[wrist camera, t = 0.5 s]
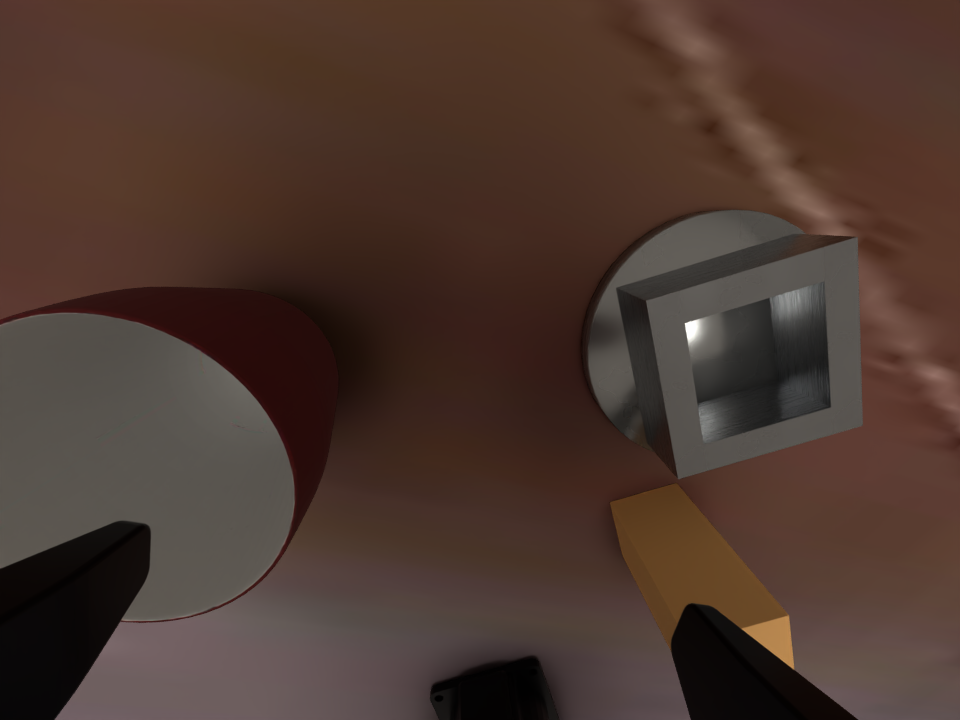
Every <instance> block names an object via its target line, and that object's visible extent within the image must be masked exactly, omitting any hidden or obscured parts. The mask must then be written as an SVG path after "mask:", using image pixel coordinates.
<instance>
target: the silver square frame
mask: <svg viewBox="0 0 960 720" xmlns="http://www.w3.org/2000/svg"><path fill="white" fill-rule="evenodd" d="M581 347H582V363H583V369H584V374H585V377H586V380H587V383H588V386H589V389H590V391H591V393H592V395H593V397H594V399H595V400H596V402H597V403H598V405H599V406H600V408H601V409H602V411H603V412H604V413H605V414H606V416H607V417H608V418H609V420H610V421H611V422H612V423H613V424H614V425H615V426H616V427H617V429H618V430H619V431H620V432H621V433H623V434H624V435H625V436H626V437H628V438H629V439H630V440H631V441H633V442H635V443H637V444H638V445H640V446H642V447H643V448H646V449H648V450H651V451H653V452H655V453H656V454H657V455H658V456H659V458H660V459H661V460H662V461H663V462H664V463H665V464H666V466H667V467H668V468H669V469H670V470H671V471H672V473H673V474H674V475H675V476H676V477H677V478H678V479H681V478H684V477H687V476H691V475H694V474H698V473H701V472H705V471H708V470H712V469H715V468H718V467H722V466H725V465H729V464H732V463H736V462H739V461H743V460H746V459H749V458H753V457H756V456H760V455H763V454H767V453H770V452H774V451H777V450H780V449H784V448H787V447H791V446H794V445H798V444H801V443H805V442H808V441H811V440H815V439H818V438H822V437H825V436H829V435H832V434H836V433H839V432H842V431H846V430H849V429H853V428H856V427H860V426H863V420H862V384H861V348H860V312H859V276H858V240H857V237H849V236H830V235H811V234H805V233H804V232H803V231H802V230H800V229H799V228H798V227H796V226H794V225H793V224H791V223H789V222H787V221H785V220H783V219H781V218H778V217H775V216H772V215H770V214H766V213H761V212H755V211H746V210H715V211H705V212H698V213H693V214H689V215H685V216H682V217H679V218H676V219H674V220H671V221H669V222H666V223H664V224H662V225H660V226H659V227H657V228H655V229H653V230H651V231H650V232H648V233H647V234H645V235H644V236H642V237H641V238H640V239H638V240H637V241H635V242H634V243H633V244H632V245H631V246H630V247H629V248H628V249H626V250H625V251H624V252H623V253H622V254H621V255H620V256H619V258H618V259H617V260H616V261H615V262H614V263H613V264H612V266H611V267H610V268H609V270H608V271H607V273H606V274H605V275H604V277H603V278H602V280H601V281H600V283H599V285H598V287H597V289H596V291H595V293H594V295H593V297H592V300H591V302H590V305H589V307H588V310H587V313H586V317H585V322H584V326H583V333H582V342H581Z"/></svg>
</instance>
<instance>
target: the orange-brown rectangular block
mask: <svg viewBox="0 0 960 720" xmlns="http://www.w3.org/2000/svg"><path fill="white" fill-rule="evenodd" d="M610 506H611V510H612V514H613V519H614V523H615V527H616V531H617V535H618V539H619V543H620V548H621V552H622V556H623V558H624V560H625V562H626V564H627V566H628V568H629V570H630V572H631V574H632V575H633V577H634V579H635V581H636V583H637V585H638V587H639V589H640V591H641V593H642V595H643V597H644V599H645V601H646V603H647V605H648V607H649V609H650V611H651V613H652V615H653V617H654V619H655V621H656V623H657V625H658V627H659V629H660V631H661V633H662V635H663V637H664V639H665V640H666V642H667V644H668V646H669V648H670V650H671V639H672V635H673V633H674V631H675V628H676V626H677V624H678V621H679V619H680V617H681V614H682V612H683V609H684V608H685V606H686V605H688V604H689V603H696V604H703V605H709V606H712V607H714V608H715V609H717V610H718V611H719V612H720V613H722V614H723V615H724V616H726V617H727V618H728V619H729V620H731V621H732V622H733V623H735V624H736V625H737V626H738V627H740V628H741V629H742V630H744V631H745V632H746V633H747V634H749V635H750V636H751V637H753V638H754V639H755V640H756V641H758V642H759V643H760V644H762V645H763V646H764V647H765V648H767V649H768V650H769V651H771V652H772V653H773V654H774V655H776V656H777V657H778V658H780V659H781V660H782V661H783V662H785V663H786V664H787V665H789V666H790V667H791V668H792V669H794V662H793V652H792V642H791V632H790V623H789V615H788V614H787V613H786V612H785V610H784V609H783V608H782V607H781V606H780V604H779V603H778V602H777V601H776V600H775V599H774V597H773V596H772V595H771V594H770V593H769V591H768V590H767V589H766V588H765V587H764V586H763V584H762V583H761V582H760V581H759V580H758V579H757V577H756V576H755V575H754V574H753V573H752V571H751V570H750V569H749V568H748V567H747V566H746V564H745V563H744V562H743V561H742V560H741V558H740V557H739V556H738V555H737V554H736V553H735V551H734V550H733V549H732V548H731V547H730V546H729V544H728V543H727V542H726V541H725V540H724V538H723V537H722V536H721V535H720V534H719V533H718V531H717V530H716V529H715V528H714V527H713V525H712V524H711V523H710V522H709V521H708V520H707V518H706V517H705V516H704V515H703V514H702V512H701V511H700V510H699V509H698V508H697V507H696V505H695V504H694V503H693V502H692V501H691V500H690V498H689V497H688V496H687V495H686V494H685V492H684V491H683V490H682V489H681V488H680V487H679V485H678V484H677V483H674V484H671V485H667V486H664V487H660V488H657V489H654V490H650V491H647V492H643V493H640V494H636V495H633V496H629V497H626V498H623V499H619V500H616V501H612V502H610Z"/></svg>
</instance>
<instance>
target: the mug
mask: <svg viewBox="0 0 960 720" xmlns="http://www.w3.org/2000/svg"><path fill="white" fill-rule="evenodd" d="M338 388H339V377H338V369H337V363H336V359H335V356H334V353H333V351H332V348H331V346H330V344H329V342H328V340H327V338H326V337H325V335H324V334H323V332H322V331H321V330H320V328H319V327H318V326H317V325H316V324H315V323H314V322H313V321H312V320H311V319H310V318H309V317H308V316H307V315H306V314H305V313H303V312H302V311H301V310H299V309H298V308H297V307H295V306H293V305H292V304H290V303H288V302H286V301H284V300H282V299H280V298H277V297H274V296H272V295H268V294H265V293H262V292H257V291H252V290H243V289H224V288H193V287H143V288H132V289H123V290H116V291H110V292H105V293H99V294H94V295H90V296H86V297H81V298H77V299H73V300H68V301H64V302H60V303H56V304H53V305H49V306H45V307H41V308H38V309H34V310H30V311H26V312H23V313H19V314H16V315H13V316H9V317H6V318H4V319H1V320H0V568H3V567H5V566H8V565H10V564H13V563H15V562H17V561H20V560H22V559H25V558H27V557H30V556H32V555H35V554H37V553H40V552H42V551H44V550H47V549H49V548H52V547H54V546H57V545H59V544H62V543H64V542H67V541H69V540H71V539H74V538H76V537H79V536H81V535H84V534H86V533H89V532H91V531H94V530H96V529H98V528H101V527H103V526H106V525H108V524H111V523H113V522H116V521H120V520H126V521H133V522H140V523H145V524H147V525H149V527H150V529H151V551H150V569H149V573H148V576H147V579H146V581H145V583H144V585H143V586H142V588H141V589H140V591H139V593H138V594H137V596H136V597H135V599H134V601H133V602H132V604H131V605H130V607H129V608H128V610H127V612H126V613H125V615H124V616H123V618H122V620H121V621H120V622H138V623H146V622H164V621H173V620H179V619H184V618H189V617H193V616H197V615H201V614H204V613H207V612H210V611H212V610H215V609H218V608H220V607H222V606H224V605H226V604H229V603H231V602H233V601H234V600H236V599H238V598H239V597H241V596H243V595H244V594H246V593H247V592H248V591H250V590H251V589H252V588H254V587H255V586H256V585H257V584H258V583H260V582H261V581H262V580H263V579H264V578H265V577H266V576H267V575H268V574H269V572H270V571H271V570H272V569H273V568H274V567H275V565H276V564H277V563H278V561H279V560H280V558H281V557H282V555H283V554H284V552H285V551H286V549H287V547H288V545H289V543H290V542H291V540H292V538H293V536H294V534H295V532H296V530H297V529H298V527H299V525H300V523H301V521H302V519H303V517H304V515H305V513H306V511H307V509H308V507H309V505H310V503H311V501H312V499H313V497H314V495H315V493H316V490H317V488H318V485H319V483H320V480H321V477H322V475H323V472H324V469H325V465H326V461H327V457H328V453H329V448H330V442H331V435H332V429H333V423H334V417H335V411H336V404H337V398H338Z"/></svg>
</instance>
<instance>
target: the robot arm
mask: <svg viewBox="0 0 960 720" xmlns="http://www.w3.org/2000/svg"><path fill="white" fill-rule="evenodd" d="M150 551H151V529H150V527H149V525H147V524H145V523H140V522H133V521H126V520H120V521H116V522H113V523H111V524H108V525H106V526H103V527H101V528H98V529H96V530H94V531H91V532H89V533H86V534H84V535H81V536H79V537H76V538H74V539H71V540H69V541H67V542H64V543H62V544H59V545H57V546H54V547H52V548H49V549H47V550H44V551H42V552H40V553H37V554H35V555H32V556H30V557H27V558H25V559H22V560H20V561H17V562H15V563H13V564H10V565H8V566H5V567H3V568H0V720H55V718H56V717H57V716H58V714H59V713H60V712H61V710H62V709H63V708H64V706H65V705H66V704H67V702H68V701H69V700H70V698H71V697H72V695H73V694H74V693H75V691H76V690H77V688H78V687H79V685H80V684H81V682H82V681H83V679H84V678H85V676H86V675H87V673H88V672H89V670H90V669H91V667H92V665H93V664H94V662H95V661H96V659H97V658H98V656H99V654H100V653H101V651H102V650H103V648H104V646H105V645H106V643H107V642H108V640H109V639H110V637H111V635H112V634H113V632H114V631H115V629H116V627H117V626H118V624H119V623H120V621H121V620H122V618H123V616H124V615H125V613H126V612H127V610H128V608H129V607H130V605H131V604H132V602H133V601H134V599H135V597H136V596H137V594H138V593H139V591H140V589H141V588H142V586H143V585H144V583H145V581H146V579H147V576H148V573H149V569H150ZM671 652H672V657H673V660H674V663H675V667H676V670H677V674H678V677H679V681H680V684H681V687H682V691H683V694H684V698H685V701H686V705H687V708H688V711H689V715H690V718H691V720H858V719H857V718H855V717H854V716H853V715H852V714H850V713H849V712H848V711H846V710H845V709H844V708H843V707H841V706H840V705H839V704H837V703H836V702H835V701H834V700H832V699H831V698H830V697H828V696H827V695H826V694H825V693H823V692H822V691H821V690H819V689H818V688H817V687H816V686H814V685H813V684H812V683H810V682H809V681H808V680H807V679H805V678H804V677H803V676H801V675H800V674H799V673H798V672H796V671H795V670H794V669H792V668H791V667H790V666H789V665H787V664H786V663H785V662H783V661H782V660H781V659H780V658H778V657H777V656H776V655H774V654H773V653H772V652H771V651H769V650H768V649H767V648H765V647H764V646H763V645H762V644H760V643H759V642H758V641H756V640H755V639H754V638H753V637H751V636H750V635H749V634H747V633H746V632H745V631H744V630H742V629H741V628H740V627H738V626H737V625H736V624H735V623H733V622H732V621H731V620H729V619H728V618H727V617H726V616H724V615H723V614H722V613H720V612H719V611H718V610H717V609H715V608H714V607H712V606H709V605H703V604H696V603H689V604H688V605H686V606H685V608H684V609H683V612H682V614H681V617H680V619H679V621H678V624H677V626H676V628H675V631H674V633H673V635H672V639H671ZM430 701H431V703H432V705H433V707H434V709H435V711H436V714H437V716H438V718H439V720H560V719H559V717H558V714H557V711H556V708H555V705H554V702H553V699H552V696H551V693H550V691H549V688H548V685H547V682H546V679H545V676H544V673H543V670H542V667H541V664H540V662H539V661H538V660H536V659H528V660H525V661H521V662H518V663H514V664H511V665H507V666H504V667H500V668H496V669H493V670H489V671H486V672H482V673H479V674H475V675H472V676H468V677H464V678H461V679H457V680H454V681H450V682H447V683H443V684H440V685H436V686H434V687H433V688H432V689H431V691H430Z"/></svg>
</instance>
